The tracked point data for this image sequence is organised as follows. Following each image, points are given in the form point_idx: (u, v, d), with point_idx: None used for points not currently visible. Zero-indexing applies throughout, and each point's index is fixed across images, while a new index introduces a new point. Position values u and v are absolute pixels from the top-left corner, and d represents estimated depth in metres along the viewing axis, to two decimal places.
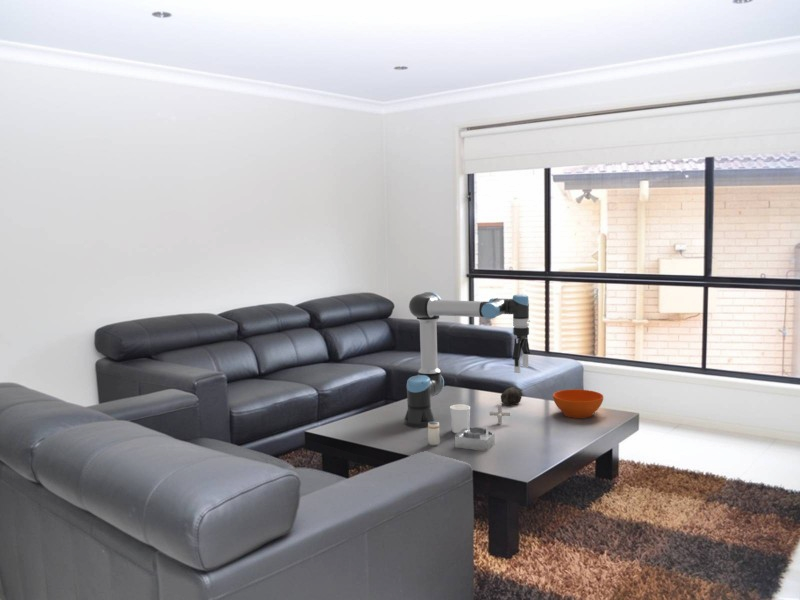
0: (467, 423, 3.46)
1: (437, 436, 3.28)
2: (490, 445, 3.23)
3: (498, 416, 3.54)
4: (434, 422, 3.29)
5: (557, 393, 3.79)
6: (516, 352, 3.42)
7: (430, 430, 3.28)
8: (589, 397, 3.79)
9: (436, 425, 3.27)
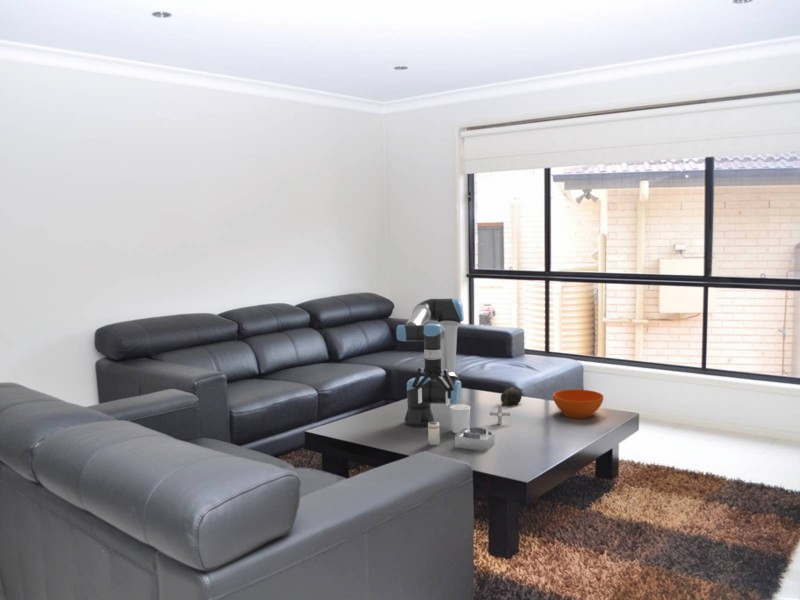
0: (467, 423, 3.46)
1: (437, 436, 3.28)
2: (490, 445, 3.23)
3: (498, 416, 3.54)
4: (434, 422, 3.29)
5: (557, 393, 3.79)
6: None
7: (430, 430, 3.28)
8: (589, 397, 3.79)
9: (436, 425, 3.27)
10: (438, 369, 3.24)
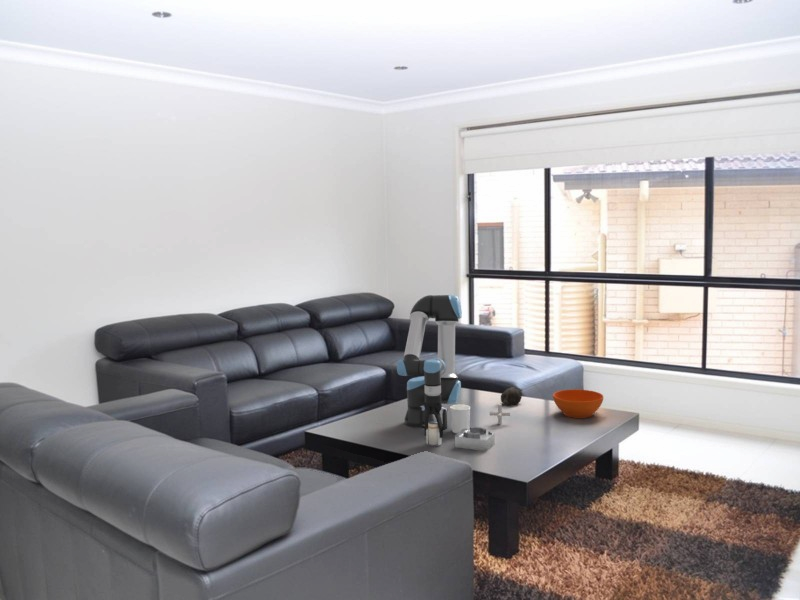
0: (467, 423, 3.46)
1: (437, 436, 3.28)
2: (490, 445, 3.23)
3: (498, 416, 3.54)
4: (434, 422, 3.29)
5: (557, 393, 3.79)
6: None
7: (430, 430, 3.28)
8: (589, 397, 3.79)
9: (436, 425, 3.27)
10: (439, 405, 3.26)
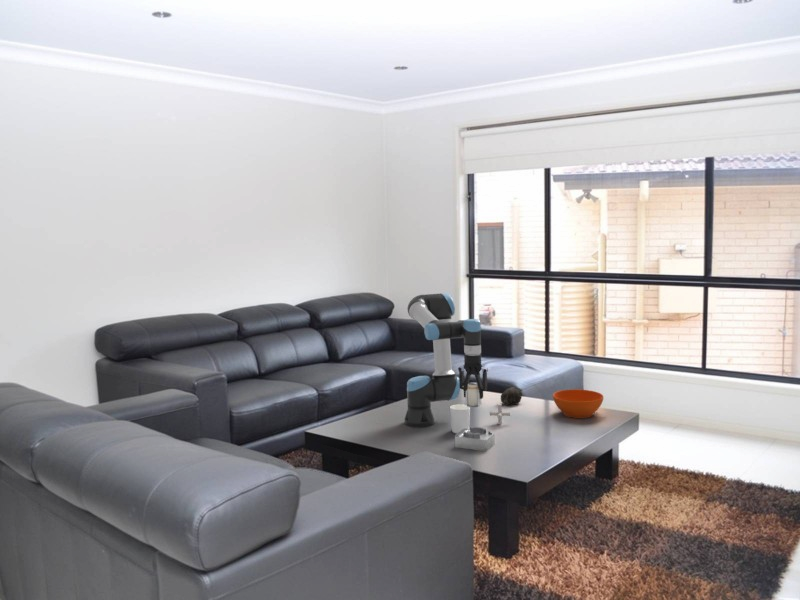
0: (467, 423, 3.46)
1: (477, 397, 3.22)
2: (490, 445, 3.23)
3: (498, 416, 3.54)
4: (474, 383, 3.24)
5: (557, 393, 3.79)
6: None
7: (470, 391, 3.22)
8: (589, 397, 3.79)
9: (476, 386, 3.22)
10: (479, 365, 3.20)
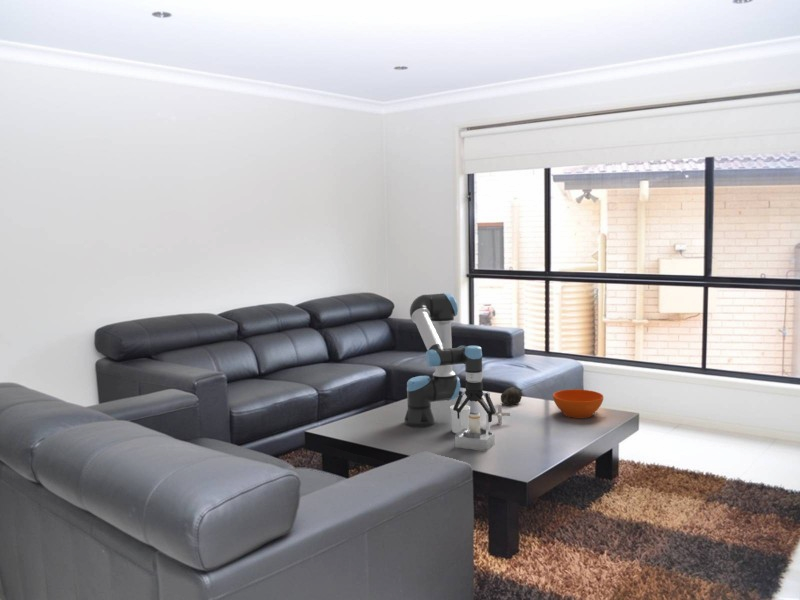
0: (467, 423, 3.46)
1: (478, 426, 3.24)
2: (490, 445, 3.23)
3: (498, 416, 3.54)
4: (475, 412, 3.25)
5: (557, 393, 3.79)
6: None
7: (471, 420, 3.24)
8: (589, 397, 3.79)
9: (477, 415, 3.23)
10: (479, 392, 3.22)
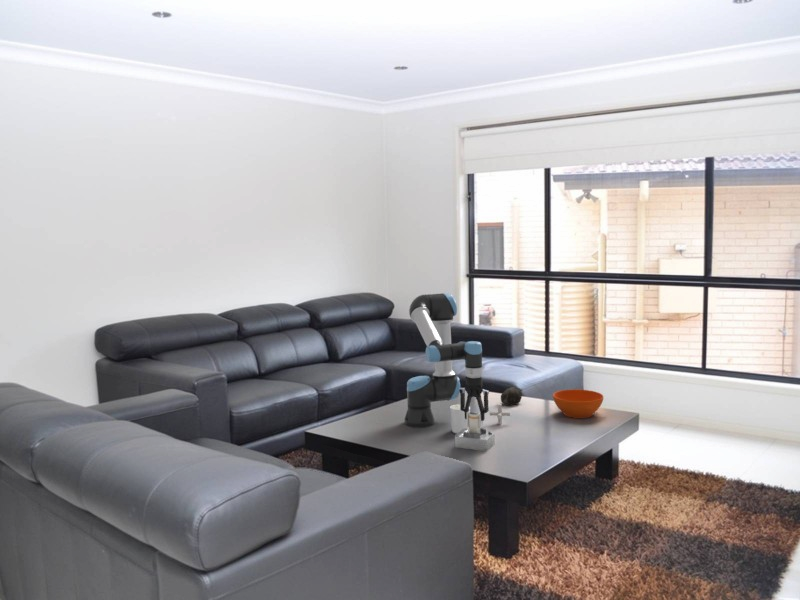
0: None
1: (478, 426, 3.24)
2: (490, 445, 3.23)
3: (498, 416, 3.54)
4: (475, 412, 3.25)
5: (557, 393, 3.79)
6: None
7: (471, 420, 3.24)
8: (589, 397, 3.79)
9: (477, 415, 3.23)
10: (480, 388, 3.22)
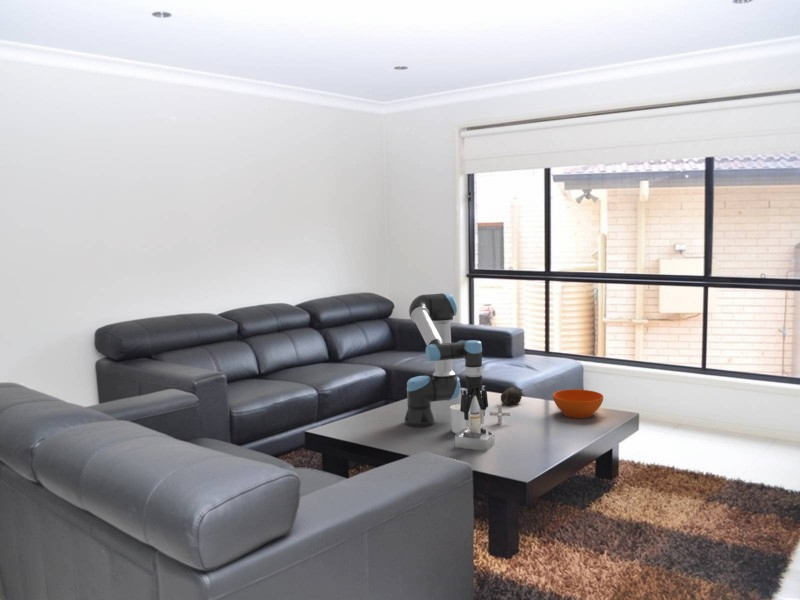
0: None
1: None
2: (490, 445, 3.23)
3: (498, 416, 3.54)
4: (474, 412, 3.26)
5: (557, 393, 3.79)
6: (462, 405, 3.21)
7: (477, 420, 3.23)
8: (589, 397, 3.79)
9: None
10: (481, 385, 3.25)
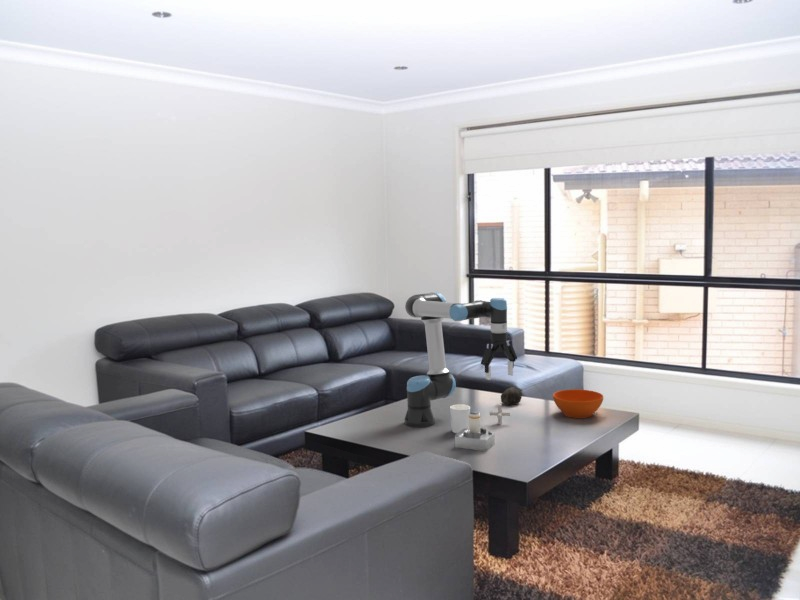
0: (467, 423, 3.46)
1: None
2: (490, 445, 3.23)
3: (498, 416, 3.54)
4: (474, 412, 3.26)
5: (557, 393, 3.79)
6: (484, 358, 3.28)
7: (477, 420, 3.23)
8: (589, 397, 3.79)
9: None
10: (505, 341, 3.33)
